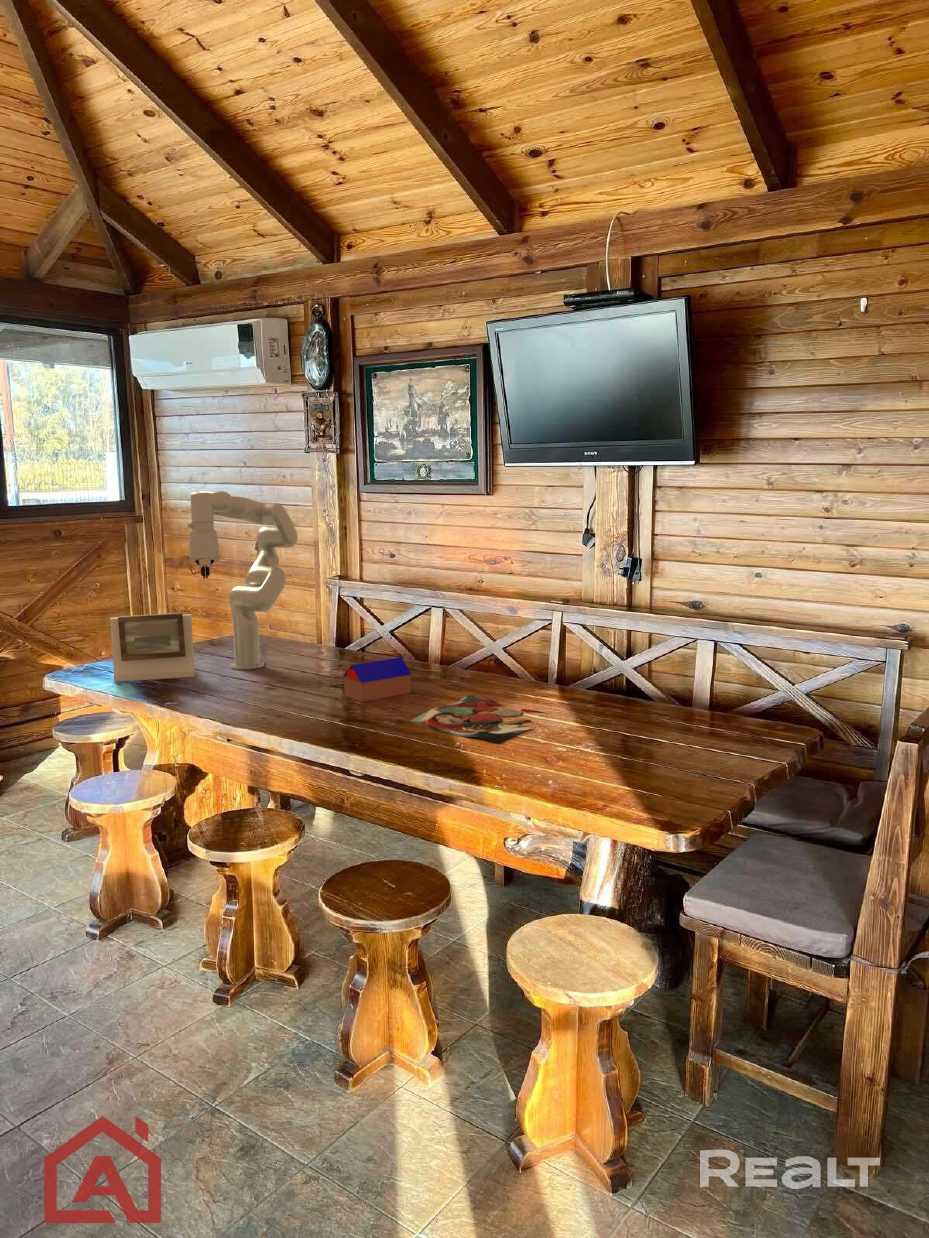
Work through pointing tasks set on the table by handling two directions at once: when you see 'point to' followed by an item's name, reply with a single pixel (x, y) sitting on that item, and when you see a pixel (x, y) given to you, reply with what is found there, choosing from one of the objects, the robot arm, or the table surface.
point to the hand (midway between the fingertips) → (205, 577)
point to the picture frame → (151, 636)
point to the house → (377, 679)
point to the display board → (153, 667)
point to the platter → (475, 719)
